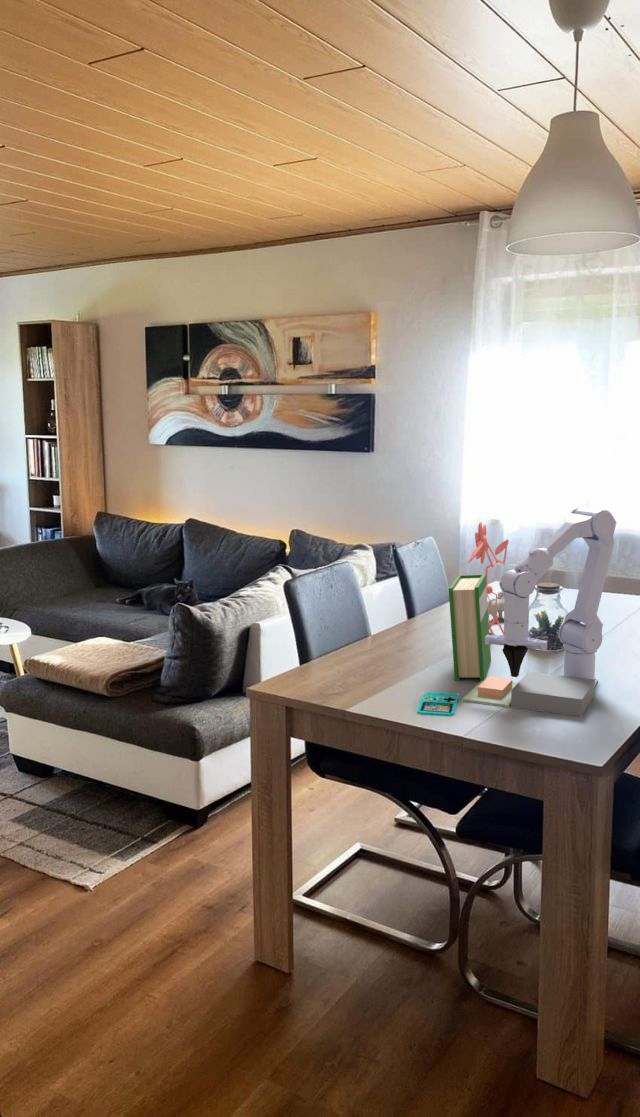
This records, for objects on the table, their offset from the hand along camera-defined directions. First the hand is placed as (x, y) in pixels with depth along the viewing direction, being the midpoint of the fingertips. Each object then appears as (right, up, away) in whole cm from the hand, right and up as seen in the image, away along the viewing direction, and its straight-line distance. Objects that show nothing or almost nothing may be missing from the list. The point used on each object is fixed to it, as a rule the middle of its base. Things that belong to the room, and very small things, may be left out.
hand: (515, 675), depth 214 cm
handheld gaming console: (-19, -7, -4) cm, 20 cm away
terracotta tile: (-4, -2, +3) cm, 5 cm away
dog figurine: (+12, +8, +77) cm, 78 cm away
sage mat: (-4, -5, +3) cm, 7 cm away
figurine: (+1, +4, +55) cm, 56 cm away
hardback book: (-6, -2, +21) cm, 22 cm away
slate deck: (+8, -6, -3) cm, 11 cm away
